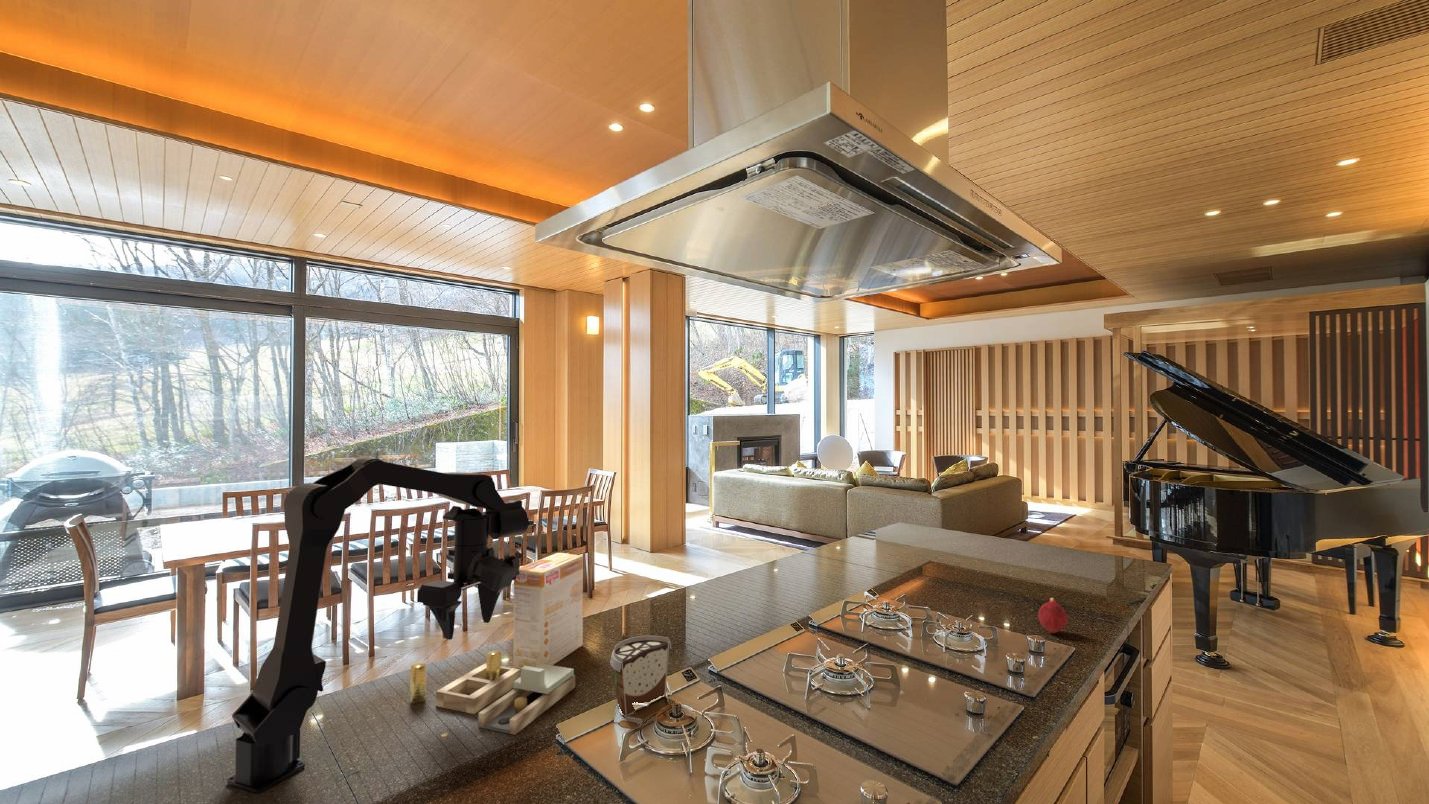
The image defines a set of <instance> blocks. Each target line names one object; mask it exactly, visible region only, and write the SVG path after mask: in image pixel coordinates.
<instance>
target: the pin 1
mask: <svg viewBox="0 0 1429 804" xmlns="http://www.w3.org/2000/svg"><path fill="white" fill-rule="evenodd" d="M409 677H410V682H409V683H410V685H409V687H410V688H409V691H410V694H409V702H410V704H413V705H417V704H422V703H423V702H425V701H426V694H427V693H426V692H427V691H426V689H427V687H426V686H427V664H426V663H425V662H417V663H414V664H412V665H411V666H410V676H409Z"/></svg>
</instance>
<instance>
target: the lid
mask: <svg viewBox="0 0 1429 804" xmlns="http://www.w3.org/2000/svg"><path fill="white" fill-rule="evenodd" d="M572 675H575V668H572V667H565V666H560V665H559V666H558V665H555V664H554V665H548V664H542V663H541V664H540V665H538V666H537V667H529V666H524V667H522V668H521V670H520V678H518V679H517V680H515V681H514V682H513V688H512V689H515V688H518V689H523V690H528V691H534V692H535V693H540V694H548V693H550V692H551V691H552V690H554V689H555V688H556V687H558V686H559V685H560V684H562V683H563V682H564V681H566V680H567V679H568V678H570V677H571V676H572ZM534 692H533V693H534Z"/></svg>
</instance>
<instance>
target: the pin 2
mask: <svg viewBox="0 0 1429 804" xmlns="http://www.w3.org/2000/svg"><path fill="white" fill-rule="evenodd" d="M501 653H502V651H500V650H491V651H489V652H487V653H486V663H487V680H492V681H493V680H495V679H497V678H498V677H500V676H501V666H502V665H501V664H502V661H501V659H502V658H501V657H502V654H501Z"/></svg>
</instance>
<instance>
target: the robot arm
mask: <svg viewBox="0 0 1429 804" xmlns="http://www.w3.org/2000/svg"><path fill="white" fill-rule="evenodd" d="M377 485H382V486H388V487H395V488H402V489H408V490H412V491H414V490H415V491H420V492H425V493H426V492H427V493H431V494H435V495H438V496H440V497H441V498H443V499H446V500H449V501H451V502H454V503H458V504H462V505H465V506H466V505H467V506H471V508H462V507H461V506H456V505H452V507H451V508H450V509H449V510H448V511H447V512H446V513H444V515H443V516H442V519H443V520H446V521H451V522H454V533H453V534H454V536H453V537H454V538H453V540H454V541H453V548H451V549H448V556H449V557H450V556H451V557H453V564H452V566H453V567H452V568H453V571H449V572H447V579H448V580H449V581H447V580H440V579H437V580H436V579H435V580H433V581H431V582H430V581H429V582H427V583H424V584H421V585H420V586H419V588H417V591H416V592H417V595H416V597H417V598H416V602H417V603H422V604H423V606H427V607H428V609H430V611H431V613H432V614H433V616H434V618H435V620H436V621H437V623H438V626H439V627H440V630H441V632H442V634H443V635H444V636H443V637H444V639H446V640H451V641H452V639H453V638H454V631H455V622H456V621H455V619H456V612H457V608H458V607H459V606H460V605H461V604H462V603H463V602H462V601H463V600H462V601H461V600H460V598H461V596H462V591H465V590H468V589H471V588H473V587H476V586H477V592H478V599H479V605H480V612H481V613H480V615H481V617H482V621H483V623H485V624H488V623H490V621H491V619H492V617H493V613H494V610H495V607H496V605H497V602H498V599H499V597H500V594H501V593H502V592H503V591H504V590H505V589H507V588H509V587H511V585H512V583H513V581H514V580H515V579H516V576H517V575H519V568H520V567H521V566H520V558H519V556H516V555H514V554H513V555H510V556H507V557H505V559H504V558H503V557H502V558H497V557H496V556H495V549H494V547H493V546H492V547H491V546H489V537H490V538H492V539H493V540H497V539H504V538H509V537H510V538H511V537H514V536H521V535H523V534H525V533H526V532H527V531H528V528H529V523H530V521H529V517H528V513H527V511H526V510H525V508H524V507H523V501H522V500H519V499H510V500H508V501H504V499H503V497H501V495H500V493H499V492H498V491H497V489H496V485H495V481H494V478H493V477H492V476H490V475H489V474H483V473H475V472H474V473H473V472H472V473H471V472H466V471H465V472H464V471H463V472H458V471H457V472H454V471H453V472H440V471H435V470H429V469H425V468H424V469H423V468H419V467H413V466H408V465H403V464H398V463H393V462H388V461H384V460H382V459H380V458H376V457H375V458H373V457H361V458H358V459H356V460H355V461H353V462H351V463H349V464H348V465H346V466H344V467H342V468H340V469H338V470H336V471H333V472H331V473H329V474H327V475H324V476H322V477H320V478H318V479H317V480H315V481H313V482H307V483H306V482H305V483H302V484H299V485H296V486H295V487H293V489H291V490H290V491H288V493H287V494H286V495H285V499H284V501H283V503H284V504H283V508H284V509H283V512H284V513H283V514H284V527H285V531H286V534H287V539H288V543H289V544H288V545H289V550H288V556H287V561H286V569H285V575H284V581H283V588H282V592H281V593H282V594H281V599H280V606H279V612H278V618H277V624H276V631H275V635H274V636H275V637H274V642H273V646H272V649H271V650H270V652H269V654H268V655H267V656H266V659H265V660H264V661H263V663H262V665H261V667H260V670H259V673H258V675H257V678H256V681H255V683H254V686H253V690H252V692H251V694H249V696H248V697H247V698H246V699H245V700H244V701H243V702H242V703H241V704H240V706H238V708H237V709H236V710H235V711H234V712H233V714H232V715H231V717H232V720H233V722H234V724H235V727H237V728H238V729H240V730H241V731H242V732H243V733H242V735H241V736H239V737H237V738H235V759H234V760H235V763H234V764H235V765H234V768H235V769H234V775H232V776H230V777H228V778H227V779H226V784H227V785H230V786H233V787H237V788H239V789H244V790H246V791H248V792H253V793H256V794H259V793H262V792H263V791H265V790H267V789H269V788H271V787H273V786H274V785H276V784H278V783H279V782H282V781H283V780H284V779H287V778H288V777H290V776H292V775H293V774H295V773H296V772H298V771H300V770H302V769H304V768H305V767H306V761H302V760H299V759H300V757H301V734H302V733H301V727H302V725H303V723H304V720H305V717H306V715H307V712H308V711H309V709H311V708H312V707H313V706H314V705H315V703H316V701H317V697H318V694H319V692H323V691H324V686H323V677H324V674H325V672H326V665H327V661H326V660H324V659H323V658H321V657H320V656H317V655H316V654H314V652H313V641H314V635H315V629H316V628H315V627H316V623H317V615H318V608H319V603H320V602H319V601H320V595H321V589H322V583H323V577H324V570H325V564H326V558H327V552H328V551H327V550H328V548H329V545H330V544H331V542H332V541H333V539H334V537H335V536H336V534H337V533H338V531H339V529H340V527H341V524H342V520H343V518H344V515H345V513H346V509H348V508H349V507H351V506H353V505H354V504H356V503H357V502H358V501H360V500H361V499H362V498H363V497H364V496H365V495H366V494H367V493H368V492H369V491H370V490H371V489H372V488H374V487H375V486H377ZM472 507H473V508H472ZM478 508H479V509H478ZM480 509H483V510H484V511H481V510H480ZM450 580H453V581H450Z"/></svg>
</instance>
